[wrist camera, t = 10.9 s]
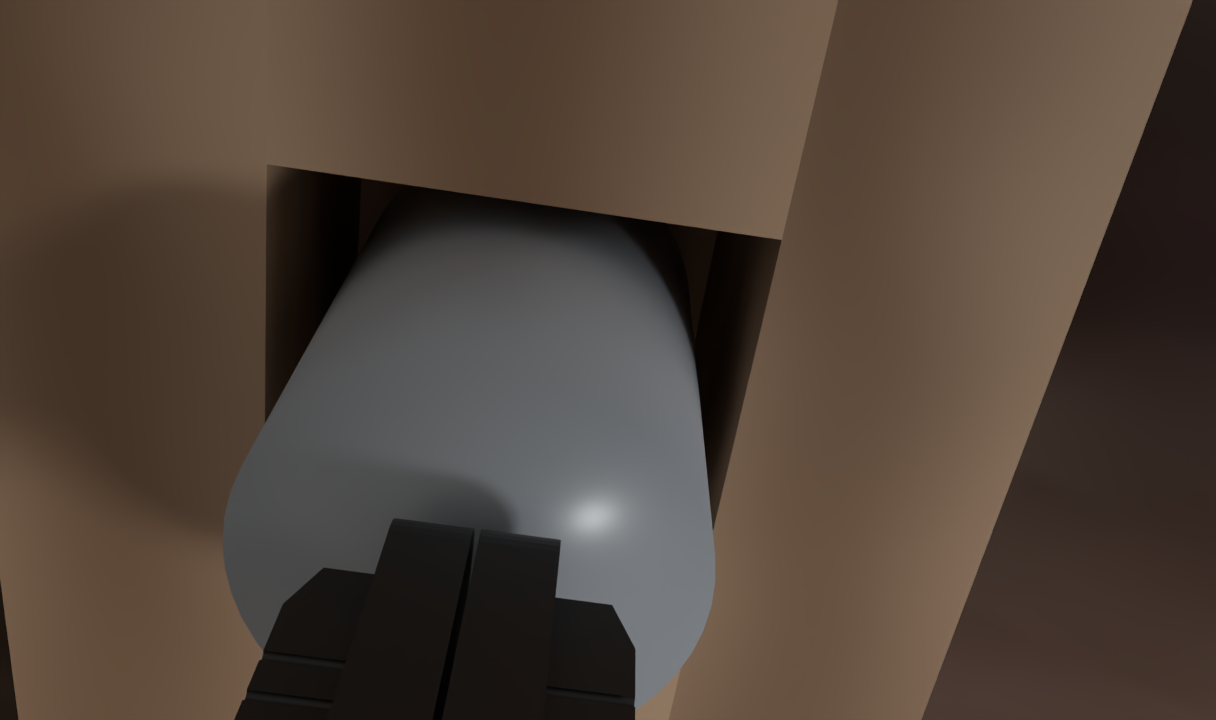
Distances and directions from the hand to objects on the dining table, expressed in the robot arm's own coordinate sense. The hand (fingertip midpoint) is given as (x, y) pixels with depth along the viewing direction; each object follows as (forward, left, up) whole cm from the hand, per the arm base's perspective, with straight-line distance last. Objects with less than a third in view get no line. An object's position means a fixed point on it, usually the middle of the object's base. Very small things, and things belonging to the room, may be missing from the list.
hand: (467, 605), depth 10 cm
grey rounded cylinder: (0, 0, -6) cm, 6 cm away
